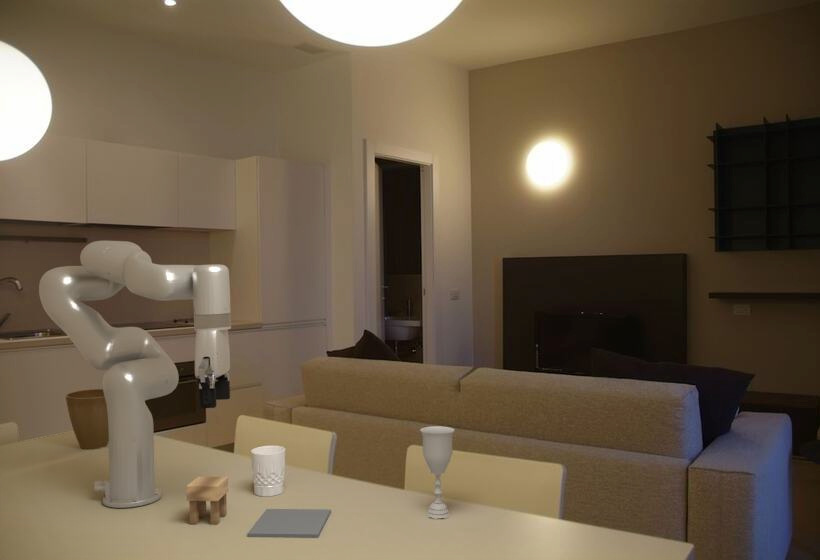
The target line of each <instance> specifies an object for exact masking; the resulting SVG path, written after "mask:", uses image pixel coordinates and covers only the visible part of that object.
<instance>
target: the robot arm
mask: <svg viewBox="0 0 820 560" xmlns="http://www.w3.org/2000/svg"><path fill="white" fill-rule="evenodd" d="M79 258H80V264H81V265H65V266H59V267H54V268H52V269H49V270H48V271H45V272H44V273H43V275H42V276H41V278H40V281H39V287H38V292H39V298H40V302H41V304H42V305H41V306H42V308H43V309H44V311H45V314H47V316H48V317H49V318H50V319H51V320H52V321H53V322H54V324H56V326H58V327H59V328H60V329H61V330H62V332H64V334H66V335H67V336H68V338H69V339H70V341H71V342H72V343H73V345H74V346H75V347H76V348H77V350H78V351H79V352H80V354H81V355H82V356H83V357H84V359H85V360H86V361H87V362H88V363H89V364H90V366H92V367H93V368H94V369H96V370H102V371H106V372H105V373H104V375H103V378H102V389H103V391H104V396H105V400H106V404H107V411H108V428H109V442H108V460H109V461H108V463H109V464H108V465H109V467H108V468H109V469H108V470H109V479H108V480H99V479H97V480H95V481H94V484H93V487H94V488H93V490H94V492H104V493H105V494H104V495H103V497H102V504H103V505H104V506H106V507H109V508H115V509H123V508H124V509H125V508H129V509H130V508H135V507H140V506H141V507H142V506H146V505H149V504H152V503H154V502H156V501H158V500H160V499H161V498H162V497H163V491H162V489H161V488H160V487H158V486H155V485H156V484H155V483H156V481H155V442H154V441H155V433H154V419H153V415H152V412H151V410H150V409H149V407H148V406H147V404H146V401H148V400H151V399H157V398H160V397H163V396H167V395H169V394H171V393H173V391H174V390H175V389H177V386H178V384H179V377H180V376H179V370H178V369H177V366H176V364H175V363H174V361H173V360H172V359H171V358H170V356H169V355H168V354H167V353H166V351H165V350H164V349H163V348H162V346H160V345H159V343H158V342H157V341H156V340H155V338H154V337H153V336H152V335H151V334H150V333H149V332H148V331H146V330H145V329H143V328H141V327H137V326H125V327H123V326H122V327H115V326H112V325H110V324H109V323H108V322H107V321H106V320H105V319H104V318H103V316H102V315H101V314H100V313H99V312H98V311H97V310H95V309H94V308H92V307H90V306H89V305H86V304H85V303H84V302H86V301H87V302H89V301H102V300H107V299H109V298H111V297H113V296H114V295H116V294H117V293H118V292H119V291H120V290H122V289H123V288H124V287H126V288H127V289H128V291H130V292H131V293H132V294H135V295H137V296H140V297H142V298H143V297H144V298H147V299H150V300H155V301H163V302H164V301H166V302H168V301H178V300H183V301H184V300H193V301H192V302H193V304H192V305H193V325H194V329H193V330H194V332H195V333H196V334H195V341H194V342H195V344H194V376H195V378H197V381H198V383H199V384H198V390H199V407H200V409H215V408H216V407H217V400H218V401H220V400H229V399H230V398H231V390H230V389H231V386H230V385H231V384H230V377H231V376H230V373H229V372H230V369H231V354H230V353H231V352H230V341H229V339H230V338H229V330H230V329H232V319H231V317H232V314H231V287H230V285H231V284H230V270H229V268H228V267H227V266H226V265H225V264H218V263H217V264H214V263H213V264H211V263H210V264H157V263H153V261H152V258H151V256H150V255H149V254H148V253H147V252H146V251H145V250H142V247H140V246H139V245H138V244H136V243H134V242H131V241H127V240H124V241H122V240H95V241H92V242H90V243H88V244H87V245H85V247H84V248H83V249H82V250H81V252H80V257H79Z"/></svg>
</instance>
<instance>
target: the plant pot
mask: <svg viewBox="0 0 820 560" xmlns="http://www.w3.org/2000/svg"><path fill="white" fill-rule="evenodd" d="M65 400H66V407H67V412H68V416H69V419H70V423H71V427H72V429H73V432H74V435H75V437H76V440H77V442H78V445H79V447H80V448H81V449H83V450H96V449H102V448H104V447H107V446H108V445H109V428H108V411H107V404H106V400H105V396H104V391H103V388H93V389H92V388H91V389H80V390H76V391H72V392H71V391H70V392H68V393H66V394H65ZM101 447H102V448H101ZM95 448H96V449H95Z"/></svg>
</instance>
